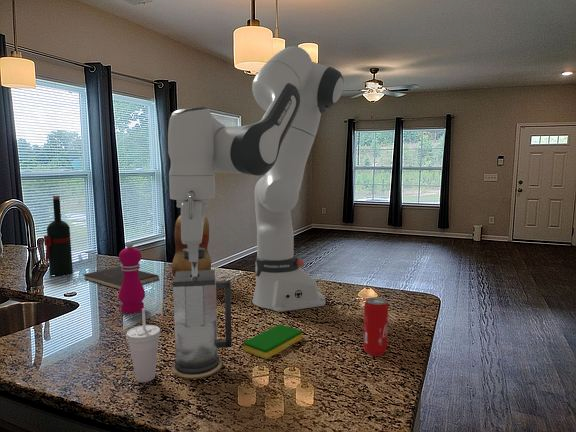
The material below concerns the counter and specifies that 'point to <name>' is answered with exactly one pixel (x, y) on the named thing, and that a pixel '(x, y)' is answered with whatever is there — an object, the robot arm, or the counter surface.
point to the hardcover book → (117, 277)
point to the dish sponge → (272, 341)
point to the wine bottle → (58, 244)
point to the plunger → (194, 264)
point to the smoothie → (144, 349)
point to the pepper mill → (131, 281)
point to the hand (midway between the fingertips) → (194, 258)
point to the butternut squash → (178, 260)
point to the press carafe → (198, 324)
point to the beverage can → (375, 326)
